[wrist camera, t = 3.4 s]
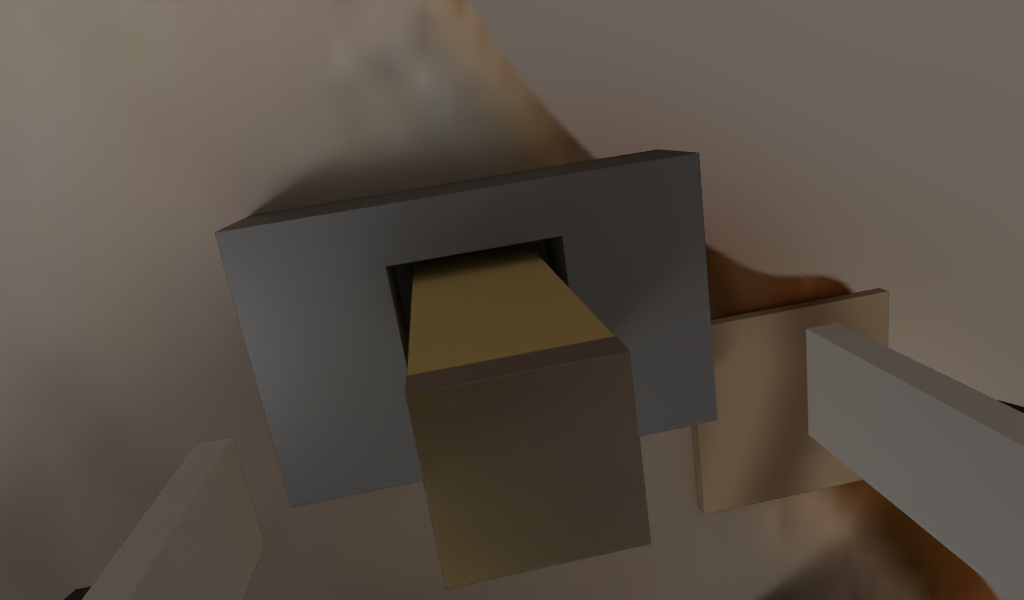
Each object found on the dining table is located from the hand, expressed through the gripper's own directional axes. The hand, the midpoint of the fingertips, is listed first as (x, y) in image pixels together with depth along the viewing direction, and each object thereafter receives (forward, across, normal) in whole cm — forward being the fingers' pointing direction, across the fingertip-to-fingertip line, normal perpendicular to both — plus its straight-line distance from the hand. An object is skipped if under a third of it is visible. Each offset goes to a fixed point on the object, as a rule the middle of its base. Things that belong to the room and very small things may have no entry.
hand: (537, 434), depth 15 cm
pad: (+12, +13, -7) cm, 19 cm away
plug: (+12, 0, 0) cm, 12 cm away
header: (+12, 0, 0) cm, 12 cm away
